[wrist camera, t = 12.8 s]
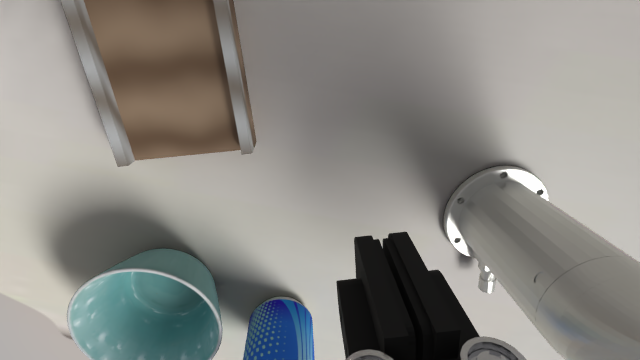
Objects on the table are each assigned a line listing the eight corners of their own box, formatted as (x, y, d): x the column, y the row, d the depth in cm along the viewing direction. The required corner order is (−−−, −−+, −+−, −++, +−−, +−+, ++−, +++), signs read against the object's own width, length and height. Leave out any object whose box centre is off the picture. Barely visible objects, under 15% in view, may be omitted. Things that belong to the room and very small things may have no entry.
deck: (256, 141, 37) (251, 153, 33) (135, 153, 37) (117, 166, 33) (209, -145, 27) (195, -172, 24) (45, -132, 27) (6, -158, 23)
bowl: (78, 267, 42) (30, 318, 34) (177, 203, 39) (148, 243, 32) (167, 342, 48) (143, 400, 40) (258, 290, 45) (251, 342, 38)
